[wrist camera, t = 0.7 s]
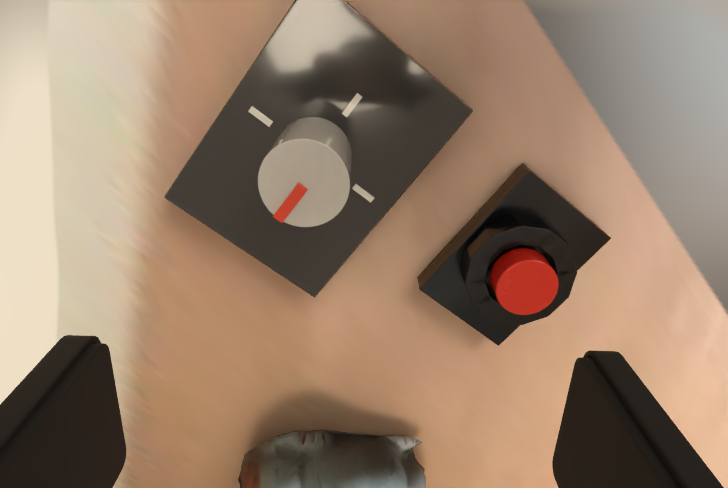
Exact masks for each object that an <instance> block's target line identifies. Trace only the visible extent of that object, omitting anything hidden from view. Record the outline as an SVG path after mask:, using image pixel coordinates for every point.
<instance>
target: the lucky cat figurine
mask: <svg viewBox="0 0 728 488" xmlns="http://www.w3.org/2000/svg"><path fill="white" fill-rule="evenodd" d="M420 443H422V442H421V441H419V440H417V439H415V438H412V437H409V436H405V435H400V436H371V435H361V434H353V433H346V432H338V431H329V430H319V431H317V430H314V431H304V432H299V431H293V432H290V433H286V434H282V435H279V436H277V437H275V438H273V439H271V440H269V441H266V442H264V443H262V444H260V445H259V446H257V447H255V448H254V449H252V450H250V451H248V453H246V454H245V456H244V459H243V462H242V466H241V472H240V475H239V478H238V481H239V483H240V488H426V477H425V474H424V468H423V467H422V466H421V465H420V464H419V463H418V462H417V460H416V458H415V455H414V451H413V449H414V447H415V446H416V445H418V444H420Z"/></svg>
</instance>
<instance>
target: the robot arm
mask: <svg viewBox="0 0 728 488" xmlns="http://www.w3.org/2000/svg"><path fill="white" fill-rule="evenodd" d="M125 458H126V444H125V439H124V433H123V427H122V421H121V415H120V409H119V404H118V398H117V392H116V386H115V380H114V374H113V368H112V363H111V357H110V351H109V347H108V346H107V345H106V344H101V342H100V340H99V339H98V337H96V336H72V335H67V336H64V337H62V338H61V339H60V340H59V341H58V342H57V343H56V345H55V346H54V347H53V348H52V349H51V350H50V351H49V352H48V353H47V354H46V355H45V357H44V358H43V359H42V360H41V361H40V362H39V363H38V364H37V365H36V367H35V368H34V369H33V370H32V371H31V372H30V373H29V374H28V375H27V376H26V378H25V379H24V380H23V381H22V382H21V383H20V384H19V385H18V386H17V387H16V388H15V389H14V390H13V391H12V393H11V394H10V395H9V396H8V397H7V398H6V399H5V400H4V401H3V402H2V403H1V405H0V488H113V486H114V484H115V482H116V480H117V478H118V476H119V474H120V472H121V470H122V468H123V466H124V463H125ZM553 473H554V477H555V480H556V482H557V485H558V487H559V488H723V486H722V485H721V484H720V482H719V481H718V480H717V479H716V477H715V476H714V475H713V473H712V472H711V471H710V469H709V468H708V467H707V466H706V464H705V463H704V462H703V460H702V459H701V458H700V456H699V455H698V454H697V453H696V451H695V450H694V449H693V447H692V446H691V445H690V443H689V442H688V441H687V440H686V438H685V437H684V436H683V434H682V433H681V432H680V430H679V429H678V428H677V426H676V425H675V424H674V423H673V421H672V420H671V419H670V417H669V416H668V415H667V413H666V412H665V411H664V410H663V408H662V407H661V406H660V404H659V403H658V402H657V400H656V399H655V398H654V397H653V395H652V394H651V393H650V391H649V390H648V389H647V387H646V386H645V385H644V384H643V382H642V381H641V380H640V378H639V377H638V376H637V374H636V373H635V372H634V371H633V369H632V368H631V367H630V365H629V364H628V363H627V361H626V360H625V359H624V357H623V356H622V355H621V354H620V353H619V352H615V351H588V352H586V354H585V355H584V358H578V359H577V360H576V362H575V365H574V370H573V374H572V378H571V383H570V387H569V391H568V395H567V400H566V404H565V408H564V413H563V417H562V421H561V426H560V430H559V434H558V439H557V443H556V447H555V452H554V456H553Z"/></svg>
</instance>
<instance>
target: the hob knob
mask: <svg viewBox="0 0 728 488" xmlns="http://www.w3.org/2000/svg"><path fill="white" fill-rule="evenodd" d="M351 166H352V150H351V145H350V142H349V140H348V138H347V136H346V135H345V133H344V132H343V131H342V130H341V129H340V128H339V127H338V126H337V125H335V124H334V123H332V122H330V121H328V120H326V119H323V118H319V117H306V118H301V119H298V120H296V121H294V122H292V123H291V124H289V125H288V126H287V127H286V128H285V129H284V130H283V131H282V132H281V134H280V135H279V137H278V138H277V140H276V141H275V143H274V144H273V146H272V148H271V149H270V151H269V152H268V154H267V155H266V157H265V158H264V160H263V161H262V164H261V166H260V169H259V173H258V189H259V193H260V196H261V198H262V201H263V202H264V204H265V206H266V207H267V208H268V210H269V211H270V212H271V213H272V214H273V217H274V218H275V219H277V220H278V221H280V222H281V223H283V222H285V223H288V224H290V225H293V226H298V227H313V226H318V225H321V224H324V223H326V222H328V221H330V220H331V219H333V218H334V217H335V216H336V215H337V214H338V213H339V212H340V211H341V210H342V208H343V207H344V205H345V203H346V202H347V199H348V196H349V191H350V179H351Z"/></svg>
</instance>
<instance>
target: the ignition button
mask: <svg viewBox="0 0 728 488" xmlns="http://www.w3.org/2000/svg"><path fill="white" fill-rule="evenodd" d="M490 283H491V286H492V289H493V291H494V293H495V295H496V297H497V300H498V302H499V303H500V305H501V306H502V307H503V308H504V309H506V310H507V311H509V312H511V313H514V314H518V315H529V314H534V313H537V312H539V311H541V310H543V309H544V308H546V307H547V306H548V305H549V304H550V303H551V302H552V301H553V299H554V298H555V296H556V294H557V291H558V285H559V284H558V277H557V274H556V273H555V271H554V269H553V268H552V267H551V265H550V264H549V263H548V261H547V260H546V258H545V257H544V256H543V255H542V254H540V253H539V252H537V251H535V250H532V249H528V248H519V249H514V250H511V251H508V252H506V253H505V254H503V255H502V256H501V257H499V258H498V259H497V261H496V262H495V263H494V265H493V267H492V269H491V272H490Z"/></svg>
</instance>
